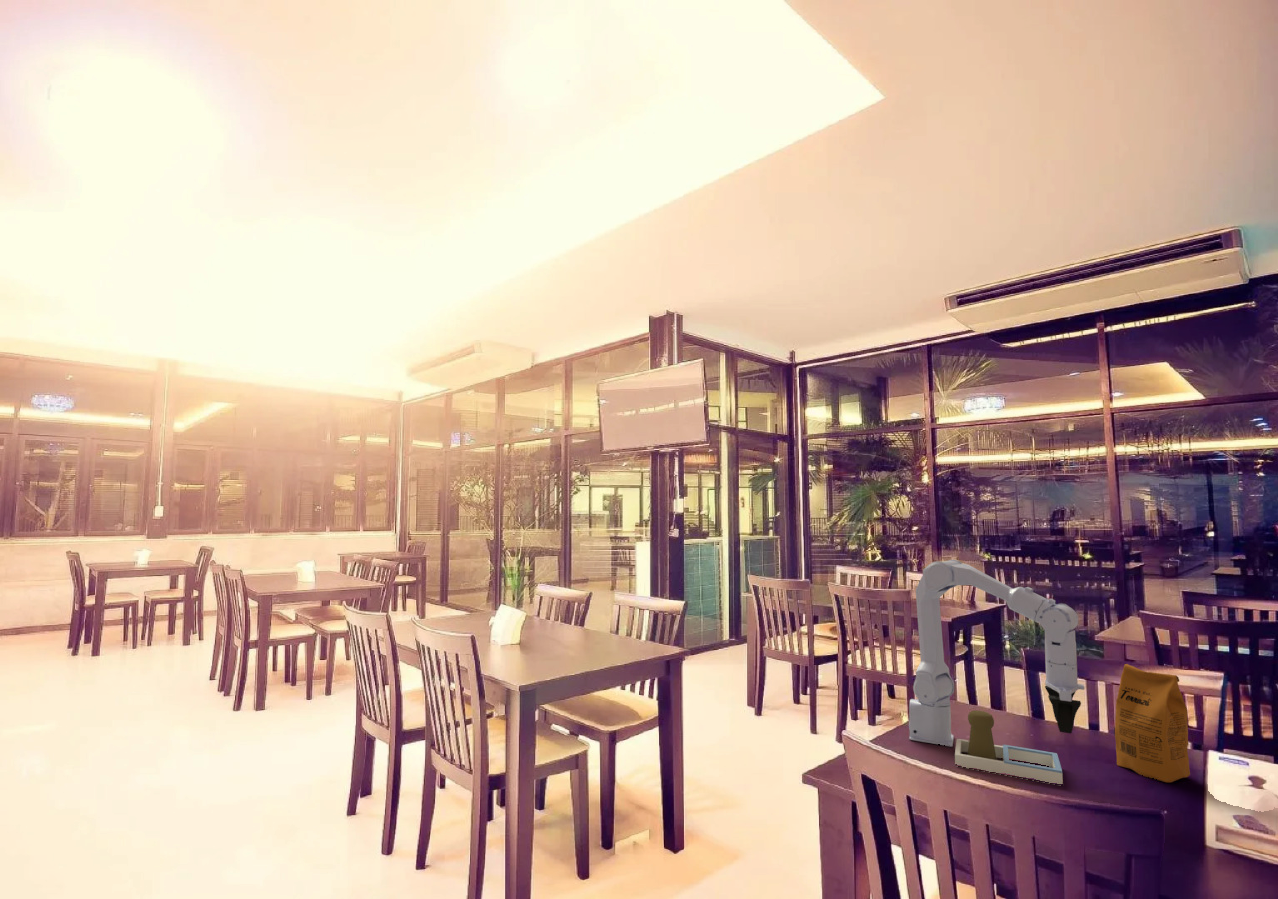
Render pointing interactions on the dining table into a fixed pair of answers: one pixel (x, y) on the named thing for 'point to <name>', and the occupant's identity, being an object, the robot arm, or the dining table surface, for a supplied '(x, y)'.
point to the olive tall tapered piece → (981, 735)
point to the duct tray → (1013, 762)
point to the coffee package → (1151, 725)
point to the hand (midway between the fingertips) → (1063, 726)
